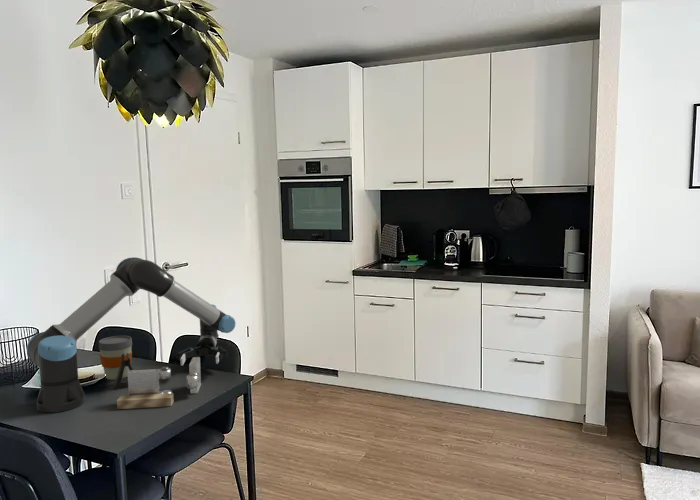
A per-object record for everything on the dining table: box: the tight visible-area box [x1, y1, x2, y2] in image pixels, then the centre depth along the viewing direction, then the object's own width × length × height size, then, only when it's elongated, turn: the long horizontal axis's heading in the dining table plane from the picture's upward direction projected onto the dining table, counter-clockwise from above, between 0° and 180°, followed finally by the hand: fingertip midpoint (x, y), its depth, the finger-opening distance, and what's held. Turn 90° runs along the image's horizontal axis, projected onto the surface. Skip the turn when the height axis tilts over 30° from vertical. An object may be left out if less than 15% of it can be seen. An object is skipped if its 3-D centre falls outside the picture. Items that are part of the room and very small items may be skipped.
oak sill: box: [116, 392, 175, 410], centre depth 189 cm, size 18×4×3 cm, turn 97°
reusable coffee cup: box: [98, 335, 133, 380], centre depth 218 cm, size 12×13×15 cm
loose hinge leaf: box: [186, 356, 202, 395], centre depth 201 cm, size 4×14×11 cm, turn 8°
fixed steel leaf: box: [127, 366, 173, 396], centre depth 192 cm, size 14×4×12 cm, turn 97°
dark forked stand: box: [114, 353, 135, 390], centre depth 208 cm, size 9×6×12 cm, turn 114°
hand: (199, 361), depth 213 cm, fingers open, 13 cm apart
